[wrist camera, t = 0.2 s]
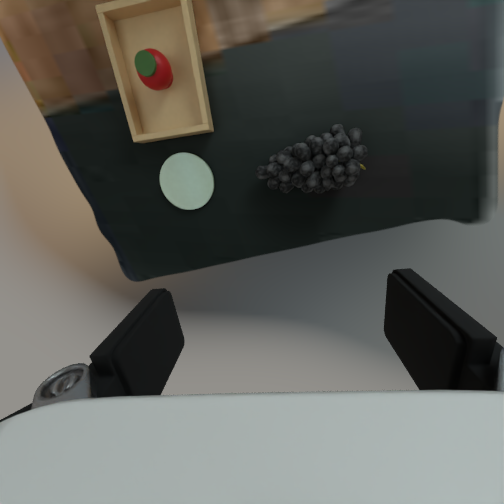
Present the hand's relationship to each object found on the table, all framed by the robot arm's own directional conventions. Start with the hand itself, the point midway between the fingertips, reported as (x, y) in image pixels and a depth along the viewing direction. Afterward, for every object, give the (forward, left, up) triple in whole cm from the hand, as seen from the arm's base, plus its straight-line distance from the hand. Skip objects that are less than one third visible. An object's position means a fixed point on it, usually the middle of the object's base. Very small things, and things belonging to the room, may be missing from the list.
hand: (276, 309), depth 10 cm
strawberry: (-19, -14, -30) cm, 38 cm away
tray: (-19, -14, -31) cm, 39 cm away
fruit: (-5, +5, -31) cm, 32 cm away
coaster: (-4, -14, -31) cm, 34 cm away
